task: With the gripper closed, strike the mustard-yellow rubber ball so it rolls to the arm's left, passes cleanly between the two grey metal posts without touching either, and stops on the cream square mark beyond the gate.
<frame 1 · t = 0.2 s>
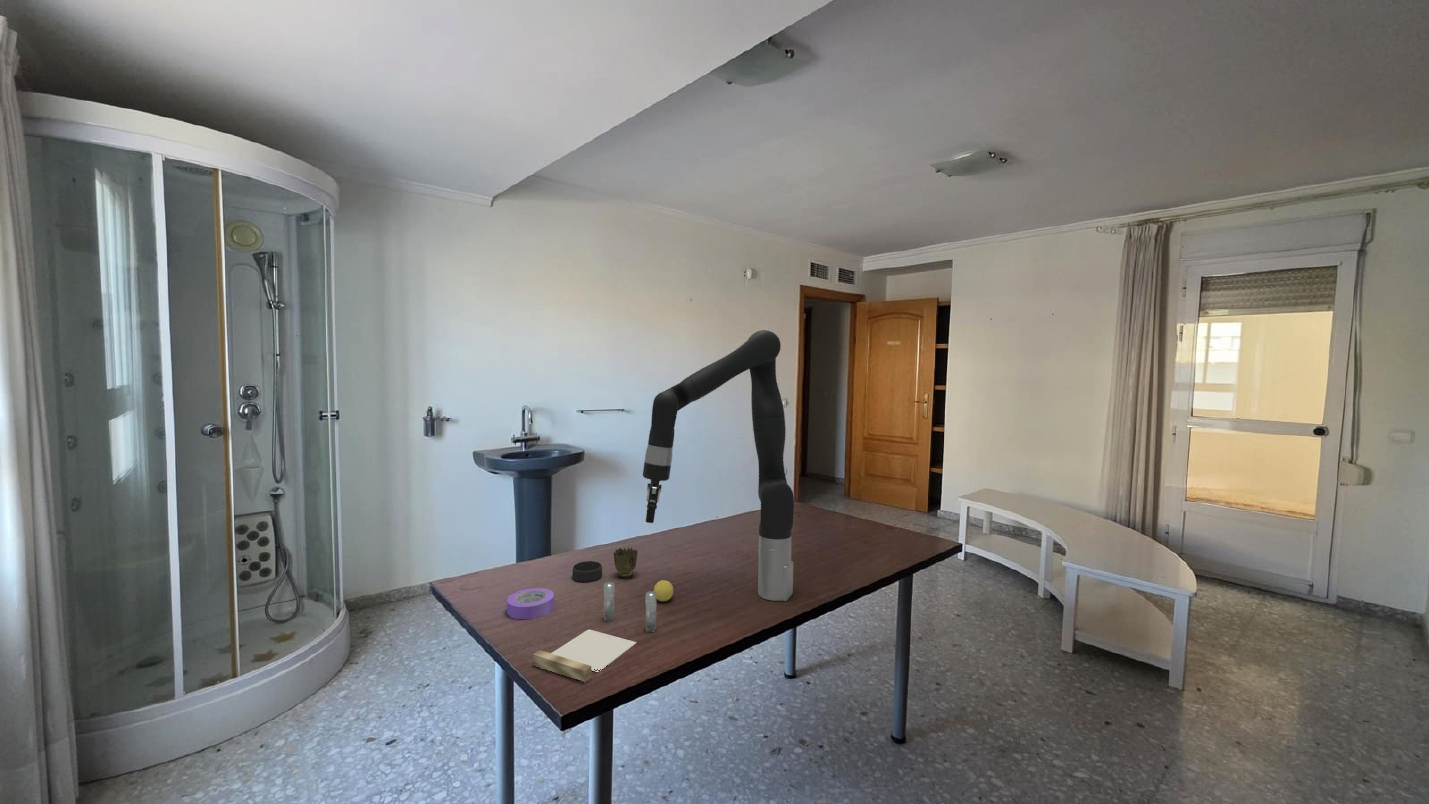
hand: (649, 518, 145), 22 cm above the table, tool pointing down, fingers open, 8 cm apart
post left: (609, 619, 131), on the table
masking tape: (530, 611, 136), on the table
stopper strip: (561, 672, 107), on the table
post right: (650, 629, 126), on the table
cup: (625, 577, 161), on the table
ball: (663, 590, 143), on the table
smart speaker: (587, 578, 160), on the table
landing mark: (592, 650, 116), on the table
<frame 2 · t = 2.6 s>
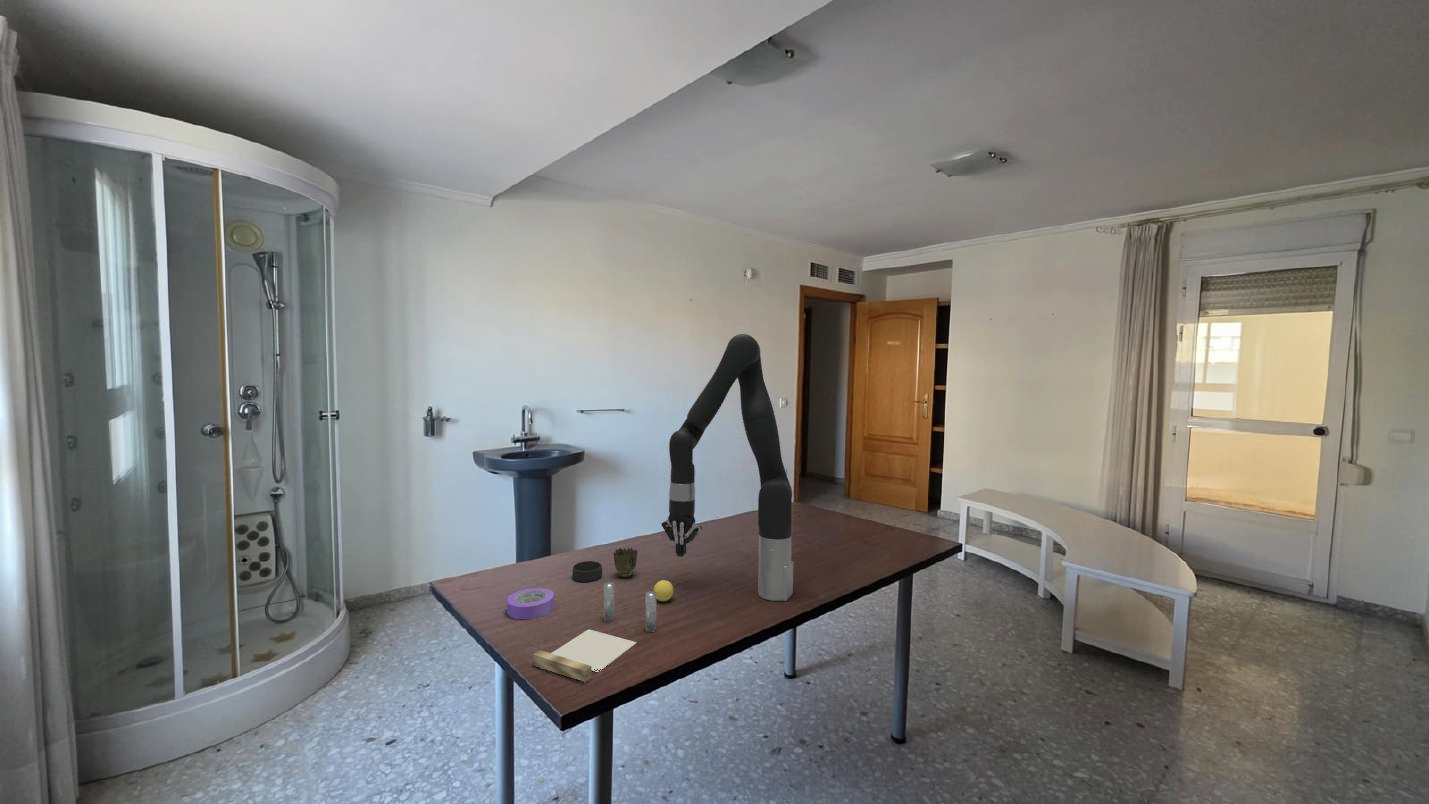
hand: (680, 555, 152), 10 cm above the table, tool pointing down, fingers closed
nothing on the table moved.
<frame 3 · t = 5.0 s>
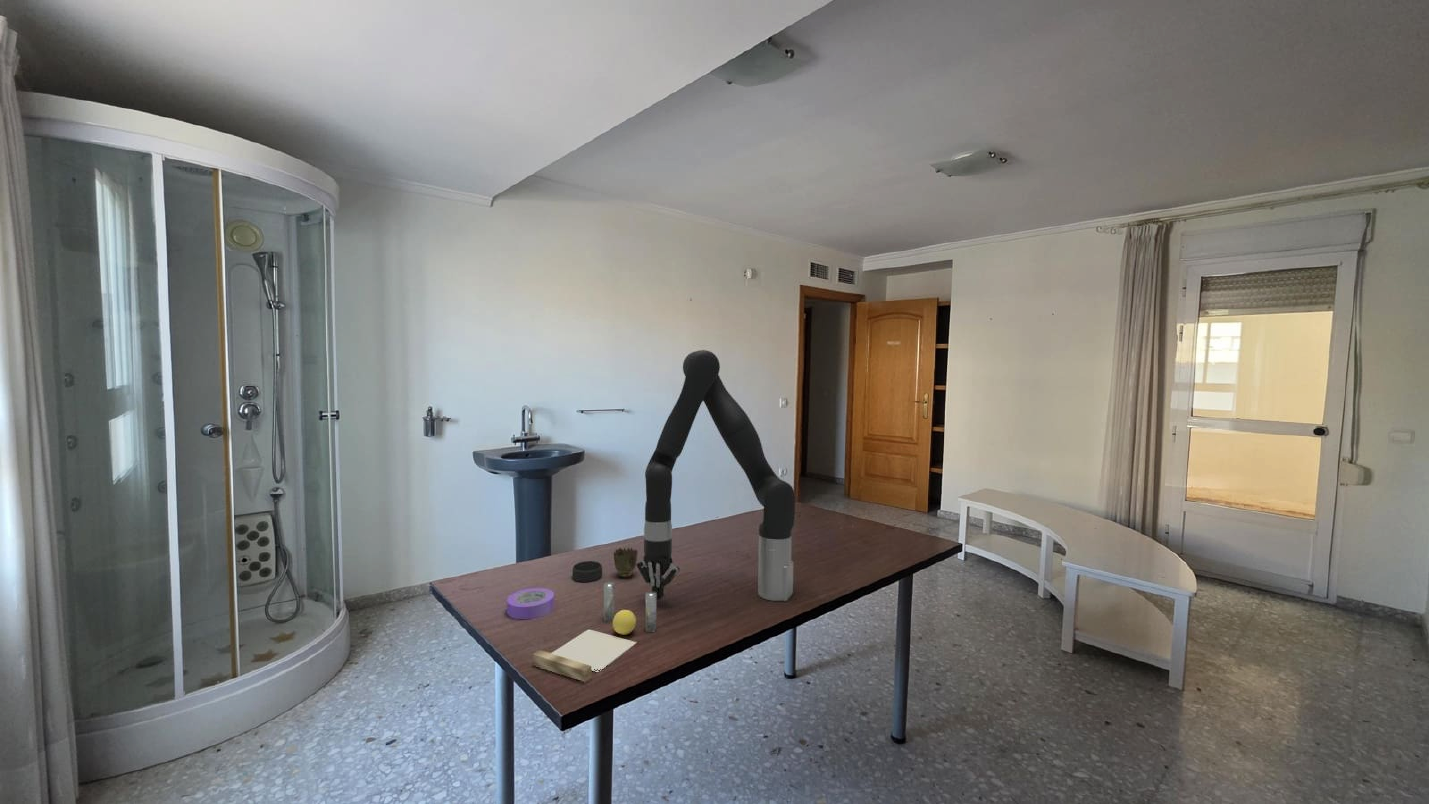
hand: (657, 599, 140), 2 cm above the table, tool pointing down, fingers closed
ball: (624, 622, 124), on the table
everything else where it was.
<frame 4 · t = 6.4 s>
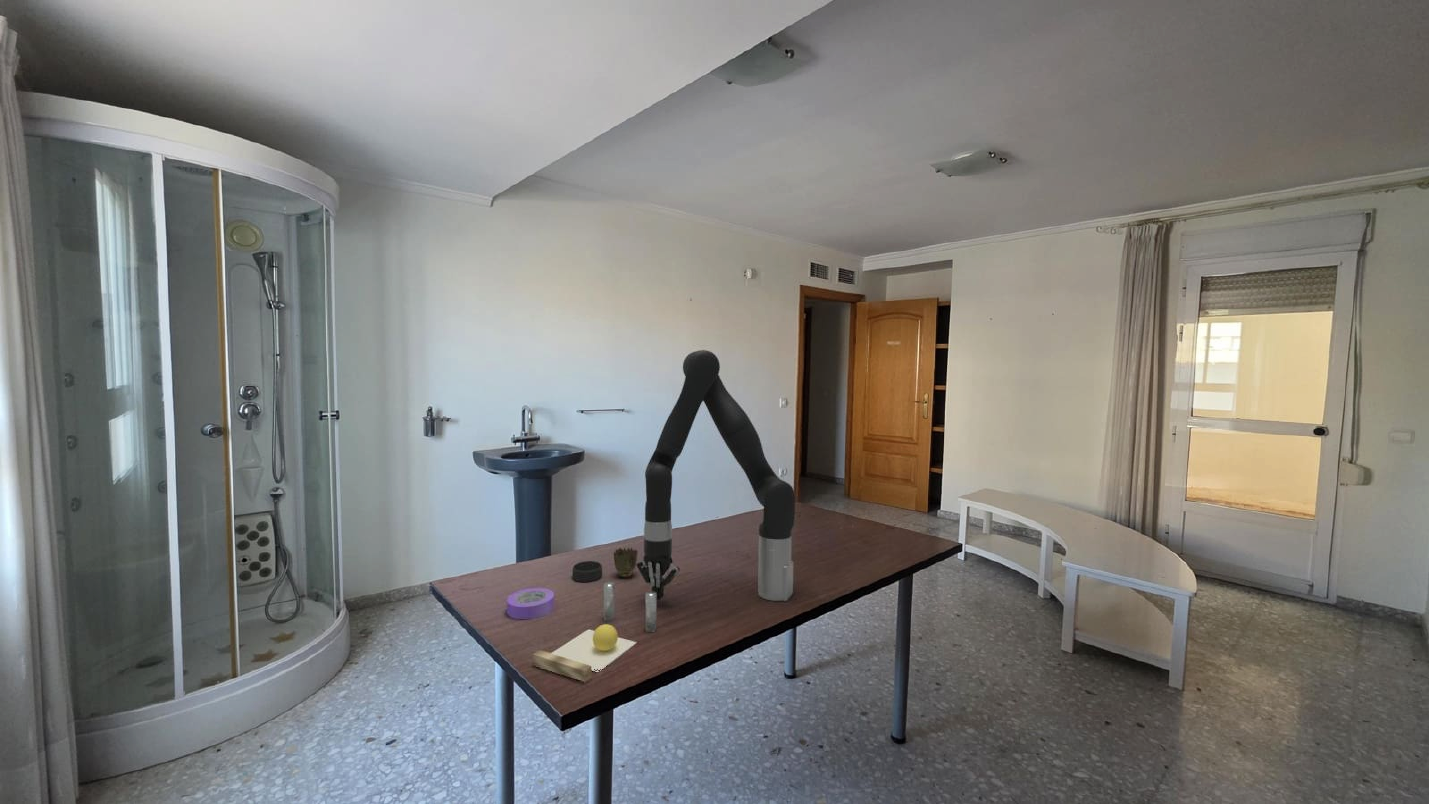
hand: (657, 599, 140), 2 cm above the table, tool pointing down, fingers closed
ball: (605, 637, 116), on the table
everything else where it was.
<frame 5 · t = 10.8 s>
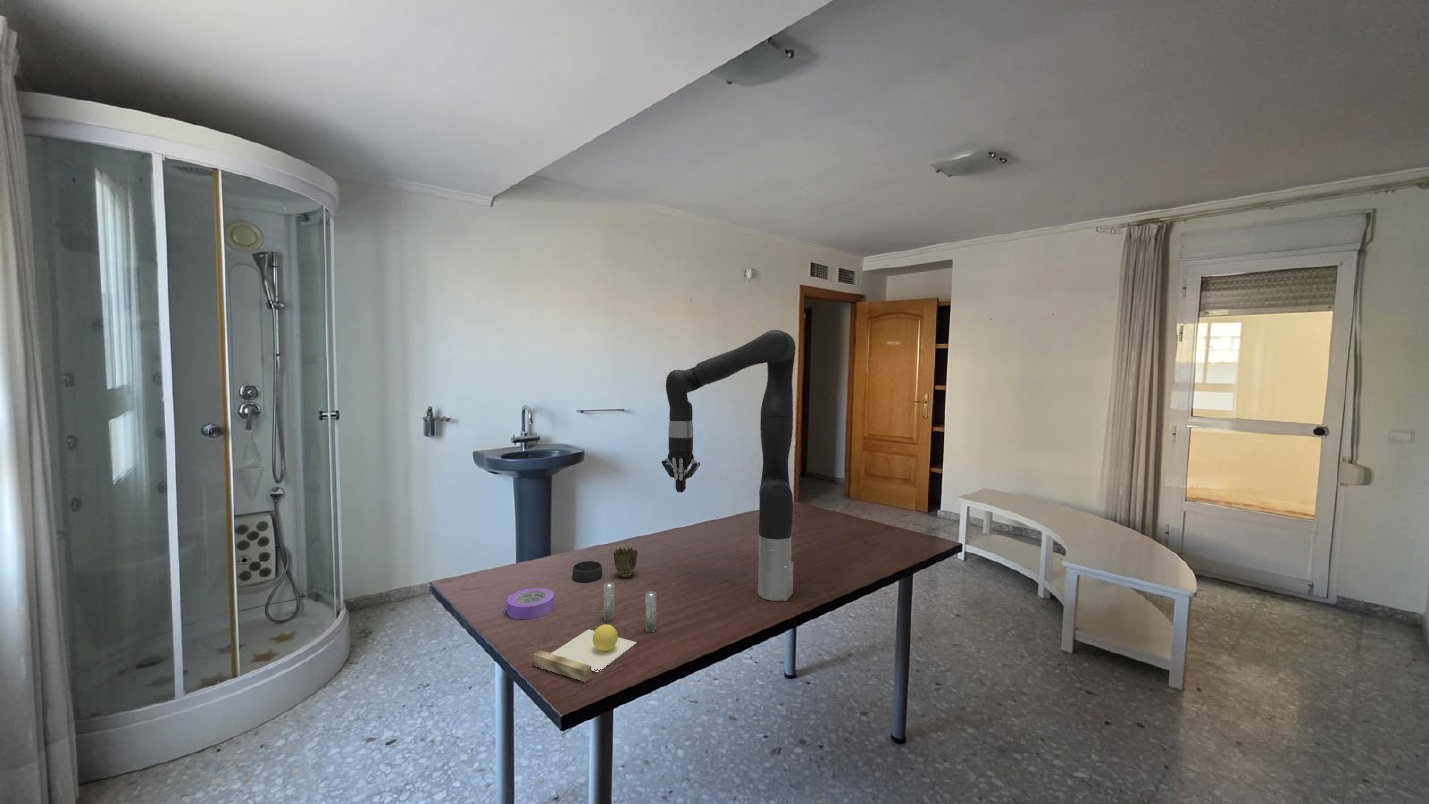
hand: (680, 491, 158), 27 cm above the table, tool pointing down, fingers closed
nothing on the table moved.
at the end: ball 2.7 cm from the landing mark (horizontally); ball never touched post left; ball never touched post right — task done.
